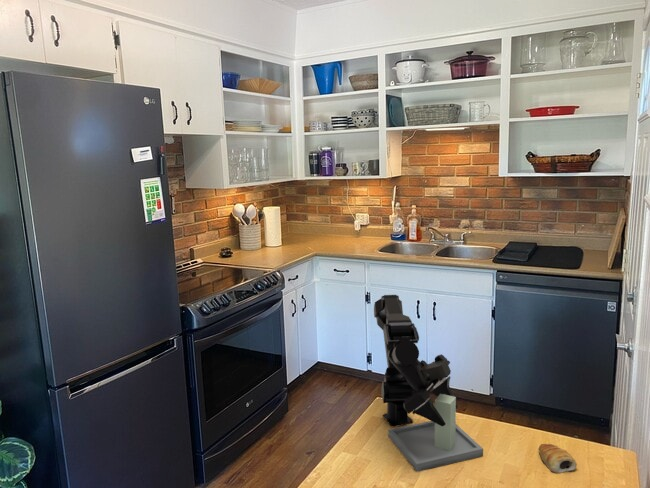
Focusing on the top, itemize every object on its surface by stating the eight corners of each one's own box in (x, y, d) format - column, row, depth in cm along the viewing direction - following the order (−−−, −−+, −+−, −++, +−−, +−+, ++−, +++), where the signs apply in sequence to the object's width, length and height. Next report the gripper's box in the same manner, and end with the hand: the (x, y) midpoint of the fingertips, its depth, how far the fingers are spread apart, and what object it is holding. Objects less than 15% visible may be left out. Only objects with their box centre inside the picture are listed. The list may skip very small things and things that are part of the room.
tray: (388, 436, 132) (388, 429, 132) (448, 423, 138) (448, 417, 137) (416, 471, 117) (416, 464, 117) (483, 456, 123) (483, 448, 122)
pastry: (530, 452, 124) (531, 437, 123) (556, 449, 125) (556, 435, 124) (553, 475, 115) (554, 460, 114) (580, 472, 116) (581, 457, 115)
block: (434, 446, 125) (434, 400, 123) (440, 438, 129) (440, 393, 127) (450, 451, 123) (450, 403, 121) (455, 443, 127) (455, 397, 125)
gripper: (415, 362, 116) (461, 418, 112) (443, 336, 132) (484, 385, 128) (385, 386, 122) (428, 440, 118) (415, 359, 137) (454, 406, 133)
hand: (450, 416), depth 124 cm, fingers open, 9 cm apart
